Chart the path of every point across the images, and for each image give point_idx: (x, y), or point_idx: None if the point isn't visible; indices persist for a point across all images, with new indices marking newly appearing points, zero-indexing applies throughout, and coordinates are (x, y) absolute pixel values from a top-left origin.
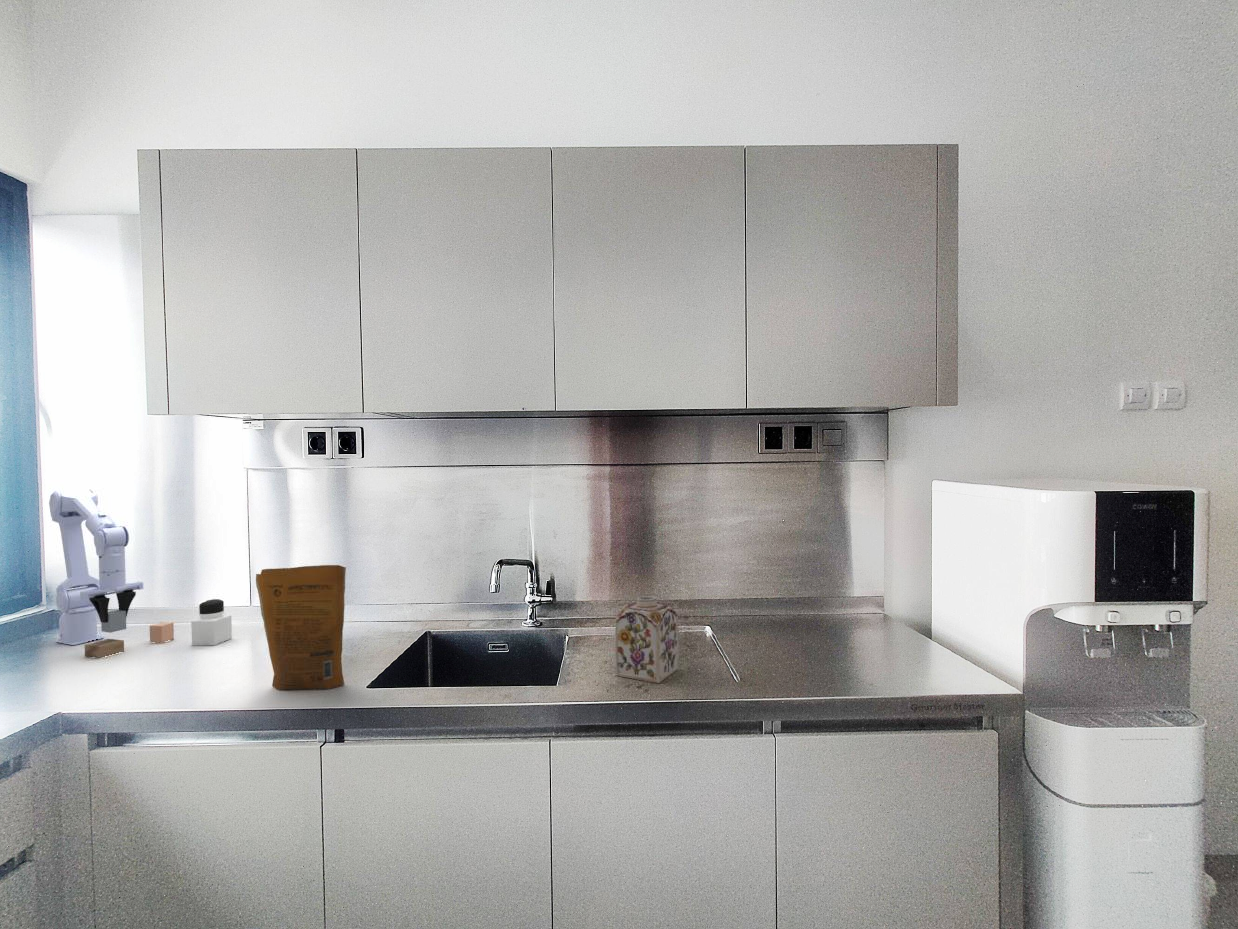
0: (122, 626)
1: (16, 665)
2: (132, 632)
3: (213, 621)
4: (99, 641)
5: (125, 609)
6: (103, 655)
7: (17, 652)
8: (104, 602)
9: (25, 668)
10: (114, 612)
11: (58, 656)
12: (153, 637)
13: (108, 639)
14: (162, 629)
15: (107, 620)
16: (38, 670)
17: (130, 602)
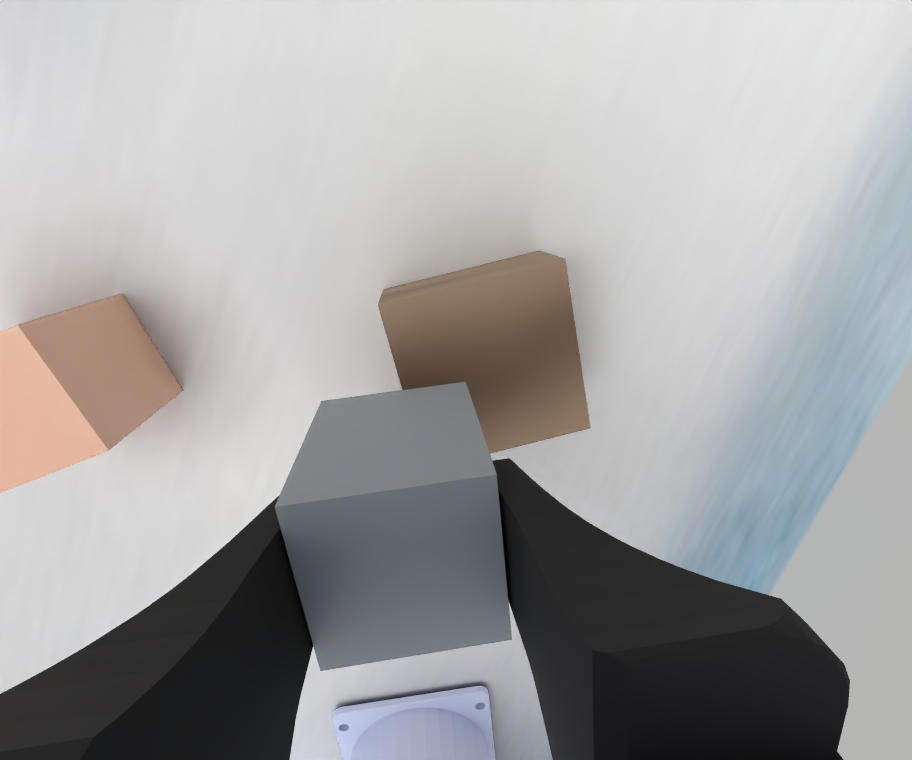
0: (353, 407)
1: (785, 530)
2: None
3: None
4: (494, 438)
5: (265, 542)
6: (526, 256)
7: None
8: (664, 592)
9: (809, 430)
10: (407, 540)
11: (617, 536)
12: (143, 377)
13: None
14: (35, 322)
15: None
16: (817, 319)
17: (140, 619)
